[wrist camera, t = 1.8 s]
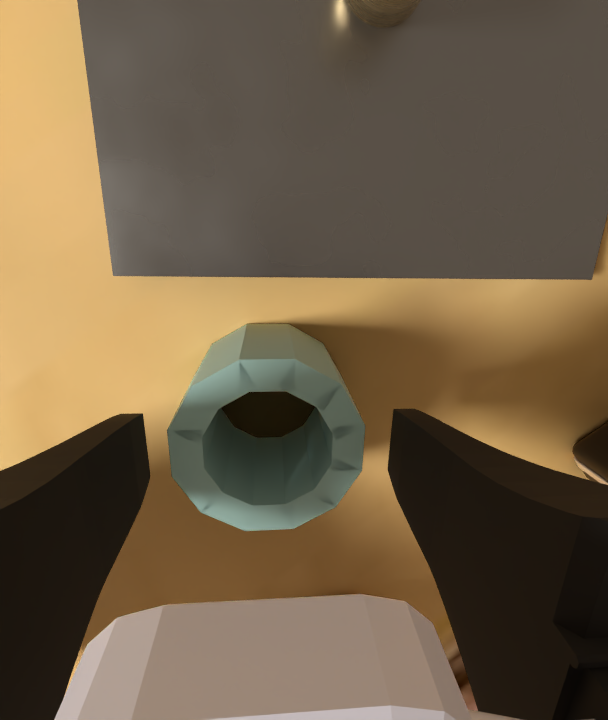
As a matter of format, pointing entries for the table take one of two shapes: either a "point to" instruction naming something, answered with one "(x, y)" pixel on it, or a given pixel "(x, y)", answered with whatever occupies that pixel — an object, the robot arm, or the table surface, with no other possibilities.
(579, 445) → the battery charger
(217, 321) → the table surface
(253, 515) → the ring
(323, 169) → the hub plate
